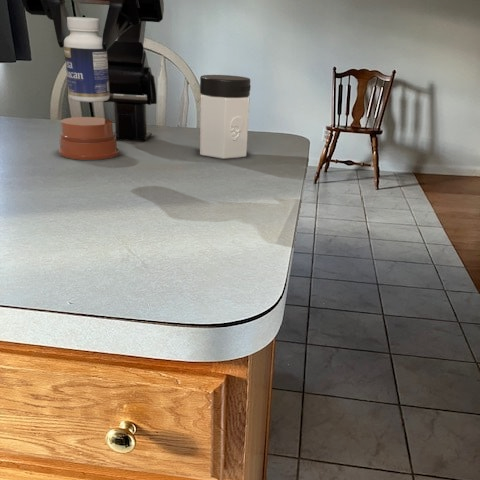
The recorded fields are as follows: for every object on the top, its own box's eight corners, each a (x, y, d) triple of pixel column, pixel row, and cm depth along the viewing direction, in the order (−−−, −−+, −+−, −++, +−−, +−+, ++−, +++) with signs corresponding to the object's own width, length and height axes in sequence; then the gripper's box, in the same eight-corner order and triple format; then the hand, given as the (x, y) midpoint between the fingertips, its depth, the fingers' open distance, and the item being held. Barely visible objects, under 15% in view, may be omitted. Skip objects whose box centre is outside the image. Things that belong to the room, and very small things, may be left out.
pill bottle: (60, 99, 73) (51, 16, 68) (87, 95, 77) (81, 16, 72) (91, 104, 71) (84, 18, 66) (118, 99, 75) (113, 19, 70)
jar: (212, 160, 88) (214, 80, 82) (188, 150, 93) (188, 74, 88) (257, 156, 92) (262, 79, 86) (231, 147, 98) (235, 74, 92)
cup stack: (71, 145, 92) (68, 114, 90) (125, 149, 92) (124, 118, 89) (49, 157, 84) (45, 123, 81) (109, 161, 83) (107, 128, 81)
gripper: (4, -116, 66) (-19, -12, 62) (158, -107, 65) (144, -2, 61) (36, -34, 76) (18, 59, 72) (168, -26, 76) (157, 67, 72)
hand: (82, 46), depth 69 cm, fingers closed on pill bottle, 5 cm apart
